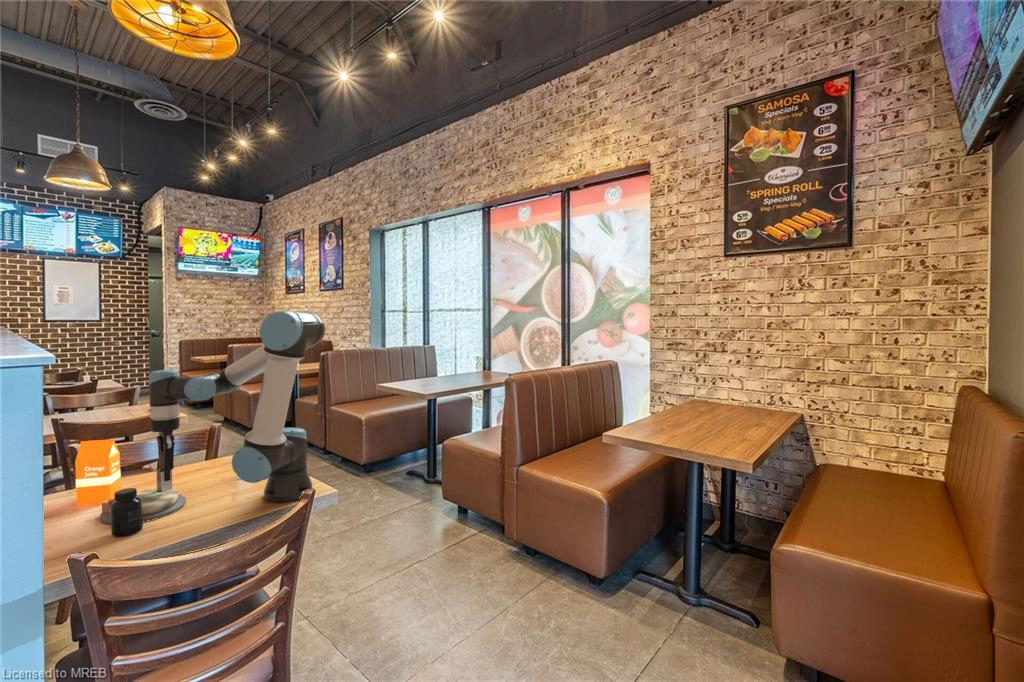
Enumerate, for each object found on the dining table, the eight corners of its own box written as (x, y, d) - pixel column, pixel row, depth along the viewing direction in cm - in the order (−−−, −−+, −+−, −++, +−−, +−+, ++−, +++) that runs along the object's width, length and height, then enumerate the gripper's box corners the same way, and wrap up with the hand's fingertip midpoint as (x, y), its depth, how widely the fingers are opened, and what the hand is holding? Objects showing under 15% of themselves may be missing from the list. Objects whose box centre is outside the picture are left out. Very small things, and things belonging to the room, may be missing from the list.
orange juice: (88, 496, 152) (86, 438, 151) (121, 493, 155) (119, 436, 154) (76, 505, 145) (74, 444, 144) (110, 502, 148) (108, 442, 147)
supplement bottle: (143, 524, 133) (141, 484, 132) (142, 533, 127) (141, 491, 127) (112, 531, 128) (110, 489, 128) (110, 540, 123) (108, 497, 122)
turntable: (142, 494, 151) (142, 467, 151) (191, 496, 150) (190, 468, 150) (92, 516, 134) (91, 485, 134) (146, 519, 133) (146, 487, 133)
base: (193, 493, 156) (193, 482, 156) (173, 518, 136) (173, 506, 136) (118, 501, 148) (117, 489, 148) (85, 530, 129) (84, 516, 129)
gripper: (146, 417, 147) (148, 488, 148) (154, 422, 139) (156, 498, 139) (174, 413, 153) (176, 482, 153) (183, 418, 144) (185, 491, 145)
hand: (166, 490), depth 146 cm, fingers closed
